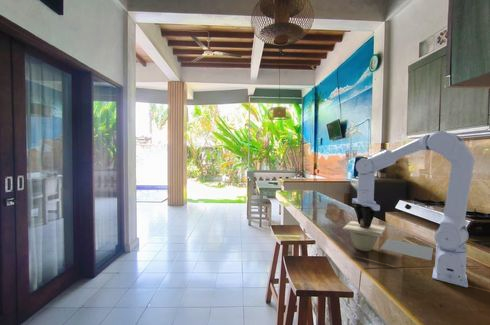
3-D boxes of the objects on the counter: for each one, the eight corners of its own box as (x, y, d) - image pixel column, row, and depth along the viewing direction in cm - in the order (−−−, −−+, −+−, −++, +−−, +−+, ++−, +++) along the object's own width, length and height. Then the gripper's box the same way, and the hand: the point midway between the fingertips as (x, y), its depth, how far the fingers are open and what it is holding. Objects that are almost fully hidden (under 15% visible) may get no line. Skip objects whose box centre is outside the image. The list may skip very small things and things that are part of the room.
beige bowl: (381, 255, 92) (382, 236, 92) (352, 253, 94) (353, 233, 94) (373, 246, 102) (374, 228, 102) (346, 243, 104) (347, 226, 104)
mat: (431, 261, 88) (431, 260, 88) (379, 249, 98) (379, 248, 98) (433, 249, 100) (433, 248, 100) (387, 239, 110) (387, 238, 110)
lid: (380, 236, 89) (380, 226, 88) (342, 230, 96) (342, 220, 96) (386, 227, 99) (386, 218, 99) (351, 222, 107) (351, 213, 107)
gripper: (388, 193, 91) (386, 230, 91) (363, 187, 105) (362, 220, 105) (370, 193, 90) (368, 231, 90) (348, 187, 104) (346, 220, 104)
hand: (364, 225), depth 98 cm, fingers closed on lid, 3 cm apart
